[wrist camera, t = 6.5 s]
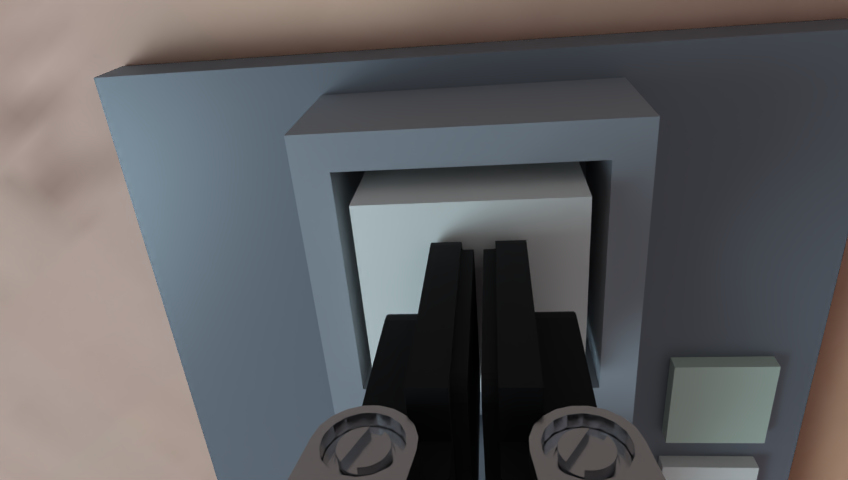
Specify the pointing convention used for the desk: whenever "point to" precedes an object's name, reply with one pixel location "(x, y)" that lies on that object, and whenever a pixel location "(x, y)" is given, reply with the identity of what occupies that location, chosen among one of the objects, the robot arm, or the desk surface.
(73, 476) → the desk surface
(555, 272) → the cream key
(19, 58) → the desk surface
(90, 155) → the desk surface
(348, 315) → the keypad
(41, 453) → the desk surface
